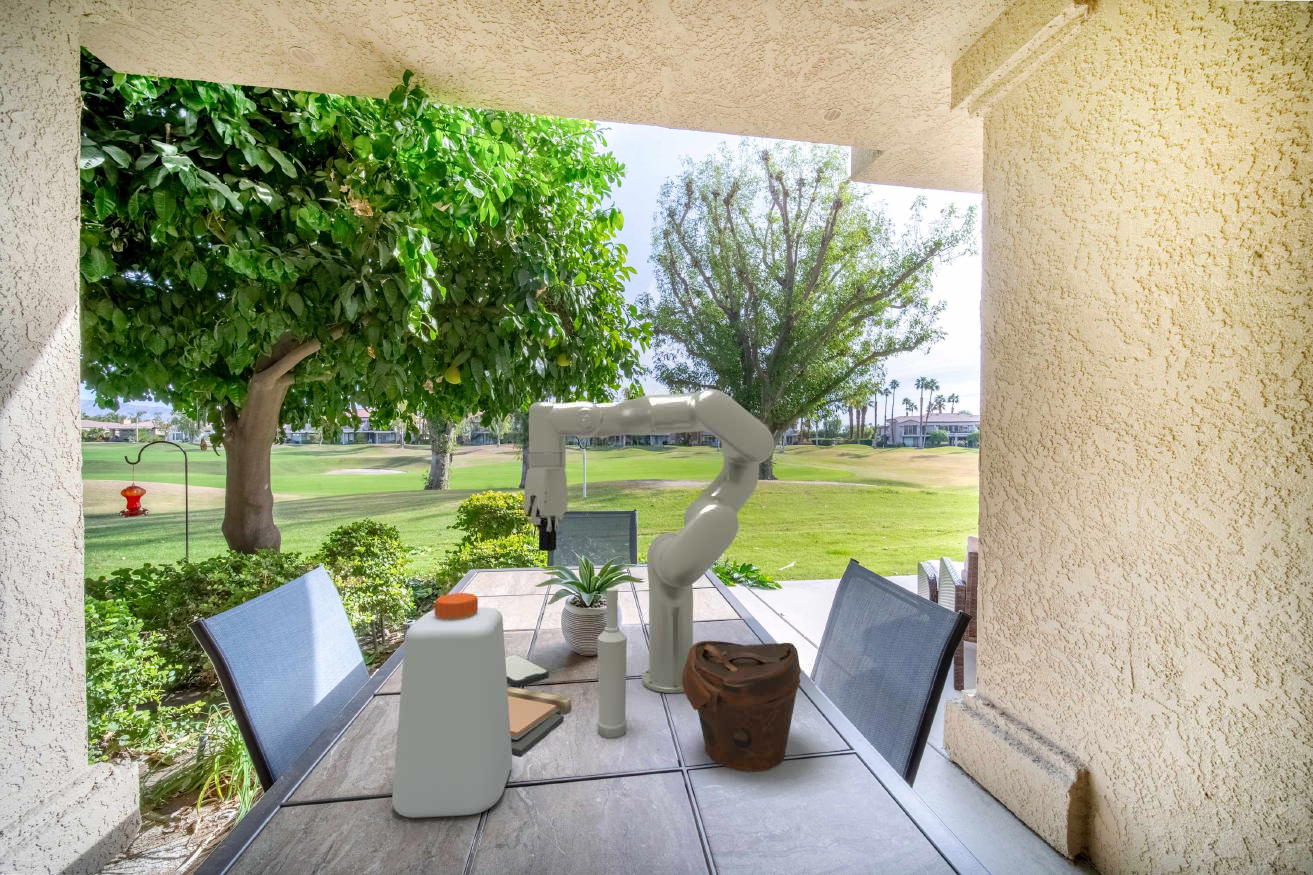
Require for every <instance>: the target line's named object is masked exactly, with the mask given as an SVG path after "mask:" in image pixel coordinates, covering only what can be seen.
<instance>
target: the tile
mask: <svg viewBox="0 0 1313 875" xmlns="http://www.w3.org/2000/svg"><path fill="white" fill-rule="evenodd" d="M508 704H509V719H510V734H511V739H516V740H518V739H519V738H520V737H522V736H523V735H525V734H526V733H528V732H529V731H530V730H532V729H533V728H535V727H536V726H537V725H539V724H540V723H542V722H543V721H544V720H546V719H547V718H549V717H550V716H551V715H553V714H554V713H556V705H552V704H547V703H542V702H537V701H532V700H526V699H521V698H516V697H511V696H508Z"/></svg>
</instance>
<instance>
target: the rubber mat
mask: <svg viewBox="0 0 1313 875" xmlns="http://www.w3.org/2000/svg"><path fill="white" fill-rule="evenodd" d="M563 722H564V714H563V715H562V714H560V715H558V714H553V715H551V716H550V717H549V718H547V719H546V720H544V721H543V722H542V723H540V724H539V725H537V726H536V727H535V728H533V729H532V730H530V731H529V732H528V733H526V734H525V735H523V736H522V737H520V738H519V739H518V740H516V739H511V748H512V756H513V755H514V756H518V757H522V756H523V755H524V754H526V753H527V752H528V751H529V750H531V748H533V747H534V746H535V745H537V744H538V743H539V742H540V741H541V740H543V739H544V738H545V737H547V735H548V734H550V733H551V732H553V731H554V730H555V729H556V728H557V727H559V725H561V724H562V723H563Z"/></svg>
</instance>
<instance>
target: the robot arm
mask: <svg viewBox="0 0 1313 875" xmlns="http://www.w3.org/2000/svg"><path fill="white" fill-rule="evenodd" d="M706 431H709V433H711V435H713V436H714V437H715V438H716V439H717V440H719V441H720V442H721V450H722V454H723V464H722V468H721V470H720V472H719V474H718V475H717V476H716V477H715V479H714V480H713V481H711V483H710V484H709V485H708V486H707V488H706V489H705V490H704V491H703V492H702V493H701V494H700V495H699V496H698V497H697V498H696V499H694V501H693V502H692V503H691V504H690V505H689V506H688V507H687V509H686V511H685V512H684V515H683V524H684V525H683V528H681V529H680V531H679V532H678V533H674V532H665V533H660V534H659V535H657V536H655V538H654V539H653V540H651V543H650V545H649V547H648V549H647V554H646V555H647V556H646V566H647V567H646V568H647V579H648V666H649V667H648V669H647V670H645V671H644V672H643V673H642V675H641V682H642V684H643V686H644V687H645V688H647V689H649V690H651V691H655V692H659V693H665V694H678V693H685V691H684V688H683V684H682V676H683V670H684V667H685V664H686V661H687V658H688V654H689V652H690V649H691V647H692V646H693V645H694V590H693V589H694V588H693V584H695V583H696V582H697V581H698V580H699V579H701V577H702V576H704V575H705V574H706V572H707V571H709V569H710V568H711V567H712V566H713V564H715V563H716V562H717V560H718V559H720V557H721V556H722V555H723V554H724V553H725V552H726V550H727V549H728V548H729V547H730V546H731V545H732V543H733V541H735V539H736V536H737V535H738V531H739V524H740V523H739V522H740V521H739V517H738V513H739V511H741V510H742V508H744V506H745V504H746V503H747V502H748V501H749V500H750V498H751V497H752V495H753V494H754V492H755V490H756V489H757V487H758V486H757V485H758V483H759V478H760V476H759V475H760V464H761V463H763V462H765V461H767V460H768V459H770V457H771V456H772V454H773V451H774V448H775V439H774V436H773V434H772V432H771V430H770V429H769V428H768V427H767V426H766V425H765V424H764V423H763V422H762V421H760V420H759V418H756V417H755V416H754V415H753V414H752V413H750V411H748V410H747V409H745V407H743V406H742V405H741V404H739V403H738V402H737V401H736V400H734V399H733V398H732V397H730V396H729V395H728V394H727V393H725V392H723V391H721V390H720V389H714V388H710V389H709V388H708V389H705V390H703V391H700V392H688V393H687V392H686V393H672V394H671V393H670V394H652V395H651V394H650V395H645V396H643V395H642V396H639V397H636V398H633V399H629V400H623V401H617V402H608V403H607V402H605V403H604V402H603V403H594V402H592V401H589V400H581V401H572V402H571V401H570V402H561V403H560V402H556V401H538V402H533V403H532V404H530V406H529V410H528V469H527V472H526V476H525V482H524V495H523V514H524V516H525V517H527V518H530V519H529V522H530V524H531V525H534V526H536V530H537V531H538V550H539V551H544V552H554V551H556V550H557V531H558V529H559V522H560V521H561V520H562V519H564V517H565V516H564V514H565V513H566V512H567V510H568V503H569V502H568V498H569V497H568V495H569V494H568V481H567V473H566V468H567V466H566V464H567V463H566V458H567V454H566V453H567V452H566V450H567V449H566V447H567V446H566V442H567V441H566V440H567V438H566V437H567V436H574V437H576V438H580V439H584V438H585V439H587V438H599V437H600V438H601V437H612V436H613V437H615V436H630V435H631V436H652V435H653V436H654V435H667V434H679V433H695V432H706Z"/></svg>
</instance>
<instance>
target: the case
mask: <svg viewBox="0 0 1313 875" xmlns="http://www.w3.org/2000/svg"><path fill="white" fill-rule="evenodd" d="M799 658H800V657H799V653H798V650H797V647H796V646H795V644H793V643H791V642H782V643H762V644H761V643H760V644H758V643H757V644H755V643H754V644H746V645H745V644H738V643H735V642H729V641H728V642H727V641H720V640H704V641H703V640H702V641H698V642H695V643H693V646H692V647H691V649H690V652H689V654H688V658H687V661H686V664H685V667H684V670H683V676H682V684H683V688H684V691H685V692H684V694H685V696H686V697H687V700H688V702H689V703H690V705H691V707H692V708H693V710H695V711H696V710H697V713H698V714H697V715H698V718H699V723H700V728H701V733H702V736H703V742H704V750H705V752H706V755H707V756H708V757H709V758H710V759H711V761H713V762H715V763H716V764H719V765H721V766H723V767H726V768H728V769H731V770H736V771H741V772H761V771H769V770H771V769H774V768H776V767H777V766H779V765H780V764H782V763H783V761H784V759H785V756H786V753H787V752H786V751H787V747H788V740H789V735H790V731H791V730H790V729H791V726H792V718H793V714H794V708H795V707H794V706H795V703H796V697H797V691H798V689H799V686H800V683H801V680H800V678H801V677H800V676H801V673H802V671H801V664H800V659H799Z"/></svg>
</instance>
